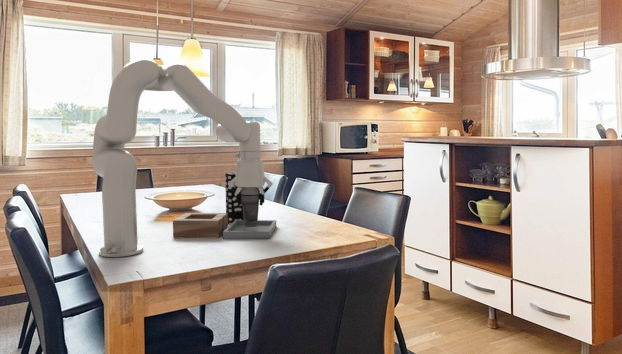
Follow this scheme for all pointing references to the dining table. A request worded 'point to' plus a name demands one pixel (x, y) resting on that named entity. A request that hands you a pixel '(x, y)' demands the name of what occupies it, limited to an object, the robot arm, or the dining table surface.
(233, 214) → the spotted tube
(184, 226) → the walnut sleeve
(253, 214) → the beverage cup
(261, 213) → the dining table surface
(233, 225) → the slate tray
